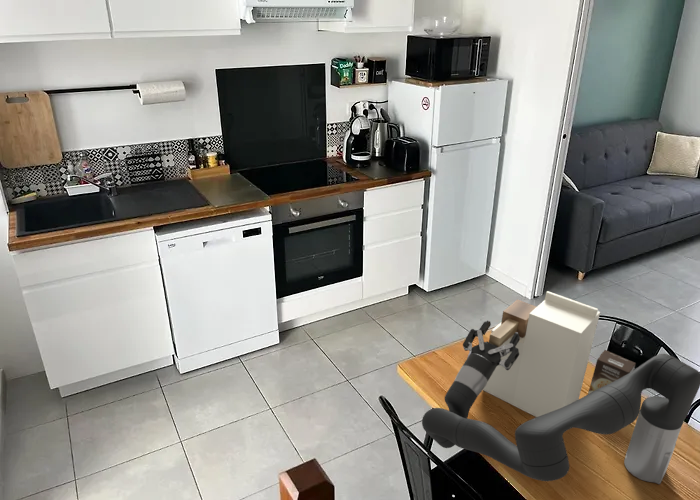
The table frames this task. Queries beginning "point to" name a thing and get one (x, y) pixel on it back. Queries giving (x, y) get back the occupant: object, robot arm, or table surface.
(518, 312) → the mallet
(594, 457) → the table surface
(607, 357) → the coffee box
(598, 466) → the table surface
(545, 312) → the step stand
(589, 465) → the table surface
